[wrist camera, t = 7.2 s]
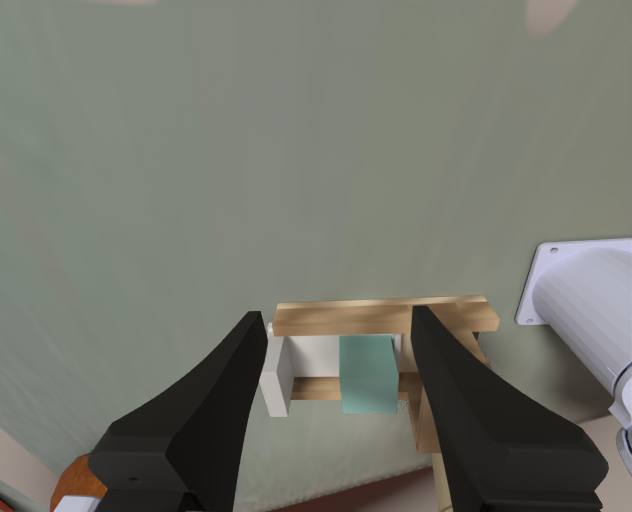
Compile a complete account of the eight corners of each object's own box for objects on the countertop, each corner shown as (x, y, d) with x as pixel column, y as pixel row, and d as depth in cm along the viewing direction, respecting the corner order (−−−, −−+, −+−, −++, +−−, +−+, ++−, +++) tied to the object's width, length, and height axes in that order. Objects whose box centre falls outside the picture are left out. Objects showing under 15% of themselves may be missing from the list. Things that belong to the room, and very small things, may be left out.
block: (389, 334, 26) (398, 378, 22) (389, 368, 28) (396, 413, 24) (339, 335, 26) (339, 378, 22) (342, 368, 29) (342, 413, 25)
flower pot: (513, 445, 36) (558, 539, 28) (460, 475, 40) (487, 563, 33) (451, 420, 34) (482, 513, 27) (403, 454, 39) (418, 542, 31)
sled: (398, 319, 26) (410, 366, 21) (395, 370, 29) (405, 420, 25) (269, 322, 27) (255, 368, 23) (281, 371, 30) (271, 419, 26)
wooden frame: (483, 295, 25) (535, 371, 18) (465, 372, 30) (501, 454, 23) (278, 303, 27) (258, 373, 20) (293, 374, 32) (281, 449, 25)
